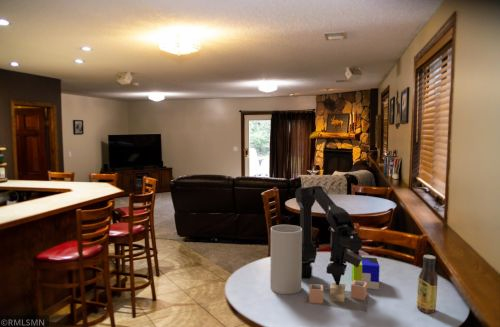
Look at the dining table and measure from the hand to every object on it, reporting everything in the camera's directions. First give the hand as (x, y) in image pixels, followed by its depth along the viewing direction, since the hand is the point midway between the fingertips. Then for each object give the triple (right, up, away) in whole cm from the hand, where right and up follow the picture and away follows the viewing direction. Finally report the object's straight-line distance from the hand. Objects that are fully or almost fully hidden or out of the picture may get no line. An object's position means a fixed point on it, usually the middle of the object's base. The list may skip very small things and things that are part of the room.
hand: (337, 284), depth 144 cm
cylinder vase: (-19, -5, +10) cm, 22 cm away
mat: (0, -6, +1) cm, 6 cm away
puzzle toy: (+15, -5, +15) cm, 22 cm away
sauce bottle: (+30, -7, -8) cm, 32 cm away
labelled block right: (+9, -5, +3) cm, 11 cm away
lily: (+18, -3, +43) cm, 47 cm away
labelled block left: (-8, -6, -1) cm, 10 cm away
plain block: (0, -6, 0) cm, 6 cm away
